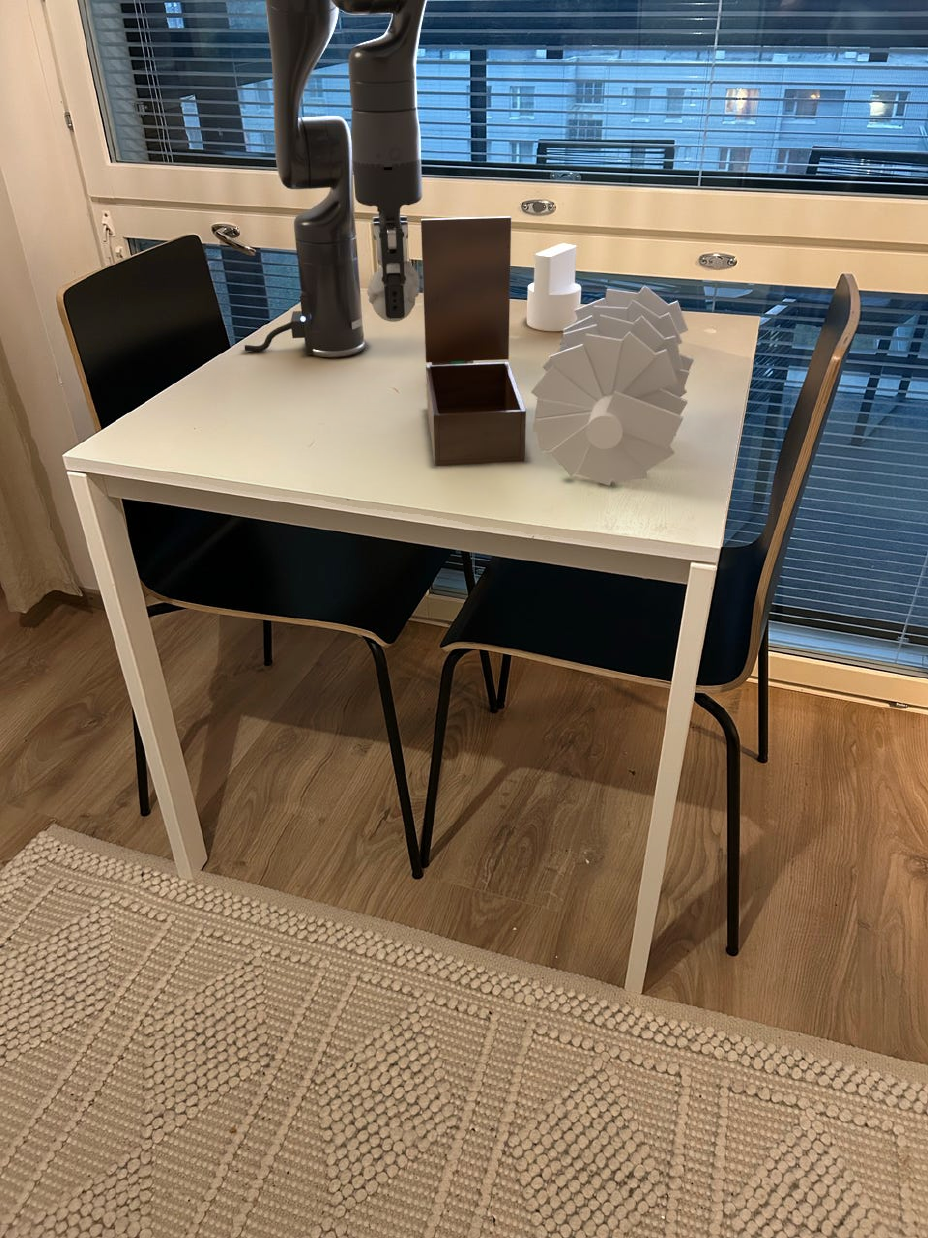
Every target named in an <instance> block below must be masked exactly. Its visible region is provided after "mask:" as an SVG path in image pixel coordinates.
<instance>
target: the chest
mask: <svg viewBox="0 0 928 1238" xmlns="http://www.w3.org/2000/svg"><path fill="white" fill-rule="evenodd" d="M425 377H426V405H427V406H426V407H427V408H426V409H427V418H428V424H429V425H428V426H429V432H430V433H429V434H430V440H431V446H432V447H431V448H432V453H433V462H434V466H455V465H476V464H495V463H496V464H497V463H518V462H519V463H520V462H525V458H526V457H525V456H526V430H527V429H526V425H527V424H526V423H527V411H526V408H525V404H524V402H523V400H522V397H521V394H520V391H519V388H518V386H517V383H516V379H515V376H514V374H513V371H512V368H511V366H510V363H509V361H501V362H500V361H499V362H476V363H475V362H473V363H471V364H446V365H432V364H427V365H425Z"/></svg>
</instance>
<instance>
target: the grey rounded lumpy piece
mask: <svg viewBox="0 0 928 1238" xmlns="http://www.w3.org/2000/svg"><path fill="white" fill-rule="evenodd" d="M387 273H400V269H399V266H398V265H387ZM404 273H405V276H406V282H405V285H404V307H405V316H404V317H403V318H396V319H389V318H387V317H386V309H385V291H384V286H383V283H382V277H383V272H382V266H380V267H379V268H377V270H375V272H374V273H373V275H372V276H371V279H370V282H369V283H368V287H367V290H366V294H367V296H368V302H369V303H370V304H371V305H372V308H373V310H374V312H375V314H376V315H377V316H378V317H379V318H381V319H382V320H384V321H387V322H390V323H396V322H400V321H403V320H404V319H406V318H407V317H408V316H409V315H410V314H411V312H412V310H413V309H414V307H415V306H416V298H417V297H418V296H419V294H420V286H421V285H420V284H421V279H420V276H419V273H418V271H417V270H416V268H415V267H414V266H413V264H412V261H410V260H407V263H406V264H405V265H404Z"/></svg>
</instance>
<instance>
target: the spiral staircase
mask: <svg viewBox="0 0 928 1238" xmlns="http://www.w3.org/2000/svg"><path fill="white" fill-rule="evenodd" d="M682 311H683V310H682V308H681V306H680V303H679V301H678V300H676V301H673V302H670V303H667V302H666V301H665V300H664V299H663V298H661V296H660V295H658V294H656V292H654V291H653V290H652V289H650V288H649V287H648V286H647V285H643V286H642V288H641V289H640V290H639V292H635V291H627V290H621V289H614V288H606V292H605V297H603V298H600V299H598V300H594V301H593V302H589V303H587V304H585V305H582V306H580V308H577V309H575V313H576V315H577V318H578V319H577V320H576V321H575V322H574V324H573V325H571V326H569V327H567V328H565V329H563V331H562V332H563V334H562V335H563V337H561V339H560V340H559V342H558V344H559V345H560V348H558V350H557V352H555V353H553V354H550V355H549V360H548V361H546V363H544V365H543V366H542V369H543V370H544V371H545V372H546V373H545V374H544V375H543V376H542V378H540V380H539V381H538V382H537V384H536V385H535V386H534V387H533V388H532V389H531V391H530V393H531V394H532V395H534V396H535V397H536V406H535V411H534V412H535V413H534V420H533V426H532V431H533V432H536V433H537V439H538V443H539V447H540V448H539V449H540V452H548V453H549V455H550V456H551V457H552V458H553V459H554V460H555V461H556V463H558V464H559V465H560V467H561V468H562V469H563V470H564V472H566V473H567V475H568V476H569V477H570V478H571V477H573V476H575V475H576V474H577V475H579V476H581V477H584V478H587V479H590V480H592V481H595V482H598V483H599V484H603V485H605V486H608V487H610V485H611V483H612V482H613V483H614V482H624V481H635V480H644V479H648V476H649V475H648V472H649V471H650V470H652V469H653V468H655V467H656V466H658V465H659V464H661V463H662V462H664V461H665V460H667V459H668V458H670V457H671V456H673V455H675V450H674V449H673V448H672V446H671V445H672V442H673V440H674V439H675V437H676V436H677V432H678V430H679V428H680V427H681V424H682V422H683V420H684V416H683V415H682V413H683V411H684V409H685V408H686V406H687V404H688V402H689V400H687V399H686V398H683V396H684V395H686V394H687V393H688V390H687V389H686V388H685V387H686V384H687V381H688V379H689V375H690V370H691V367H692V366H693V363H694V362H695V361H694V360H695V358H694V357H691V356H688V355H685V354H682V353H680V349H679V345H680V344H683V339H682V338H681V334H683V333H686V332H688V331H689V328H688V325H687V323H686V320H685V318H684V317H685V316H684V314H683V312H682Z"/></svg>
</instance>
